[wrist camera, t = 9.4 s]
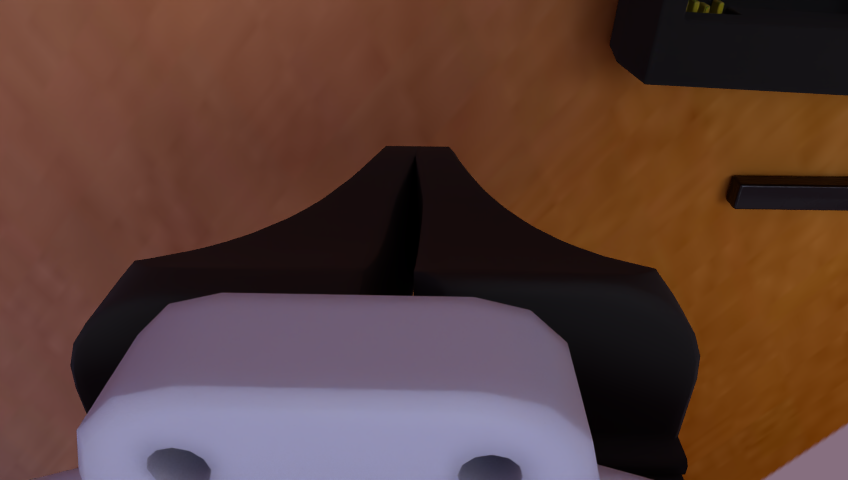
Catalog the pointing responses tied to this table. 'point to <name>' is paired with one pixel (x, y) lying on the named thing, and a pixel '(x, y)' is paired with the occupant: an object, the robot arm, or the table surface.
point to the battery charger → (735, 44)
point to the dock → (788, 193)
